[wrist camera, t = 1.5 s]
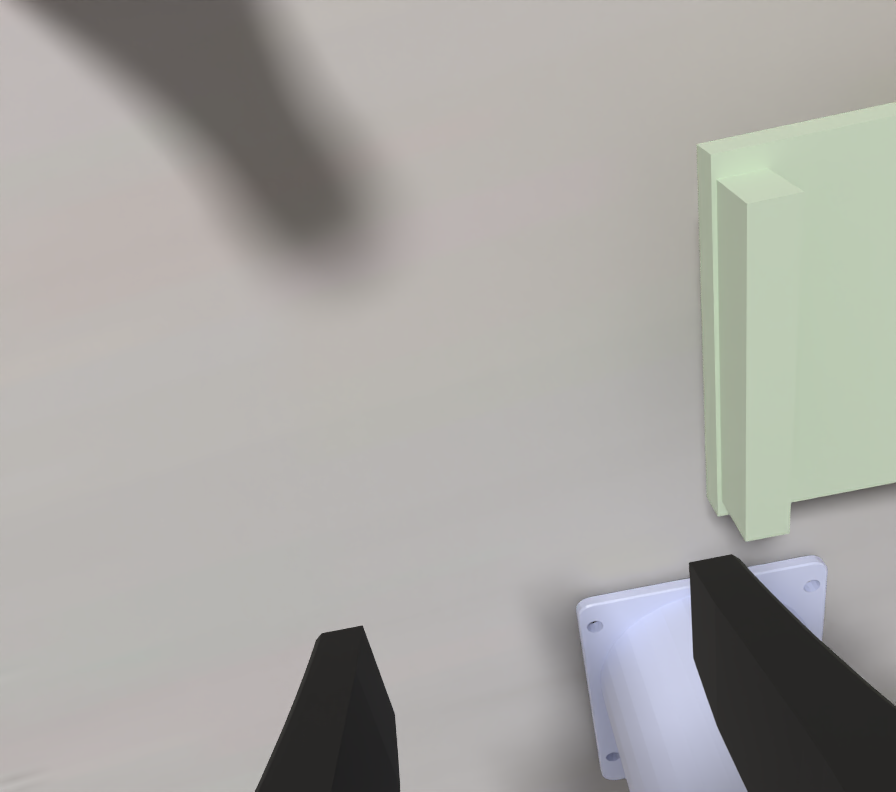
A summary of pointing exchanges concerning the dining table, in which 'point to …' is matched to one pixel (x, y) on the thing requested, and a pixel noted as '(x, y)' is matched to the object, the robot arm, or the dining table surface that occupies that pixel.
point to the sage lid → (798, 314)
